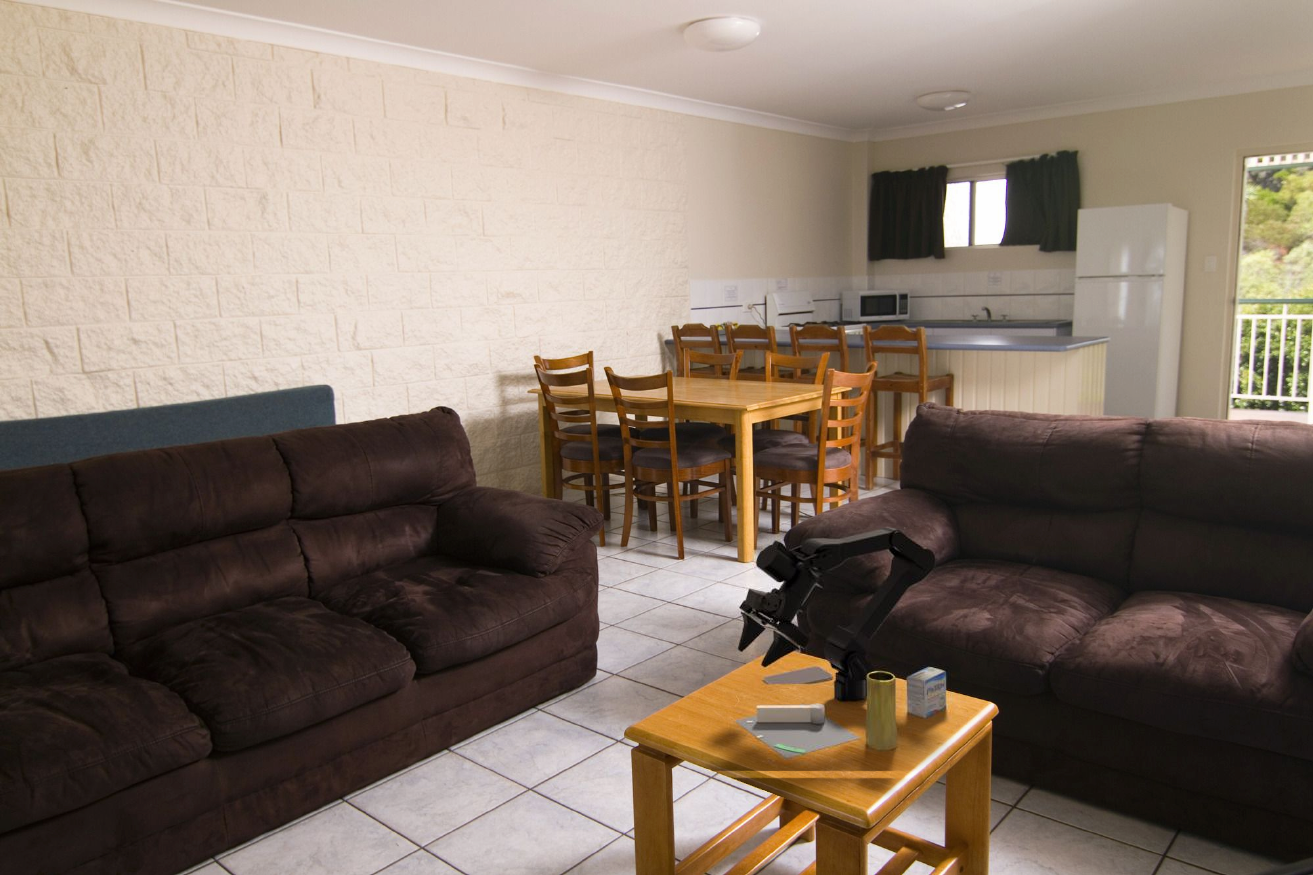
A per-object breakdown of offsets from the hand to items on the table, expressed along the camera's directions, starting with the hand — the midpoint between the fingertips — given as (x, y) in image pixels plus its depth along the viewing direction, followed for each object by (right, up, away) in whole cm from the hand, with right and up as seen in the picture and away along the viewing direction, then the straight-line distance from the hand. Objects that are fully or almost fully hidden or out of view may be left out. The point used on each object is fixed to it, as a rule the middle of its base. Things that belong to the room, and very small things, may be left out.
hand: (751, 658), depth 185 cm
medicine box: (+37, -12, +3) cm, 39 cm away
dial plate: (+8, -14, -4) cm, 17 cm away
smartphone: (+13, -11, +24) cm, 29 cm away
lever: (+8, -12, -1) cm, 15 cm away
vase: (+24, -14, -11) cm, 30 cm away
